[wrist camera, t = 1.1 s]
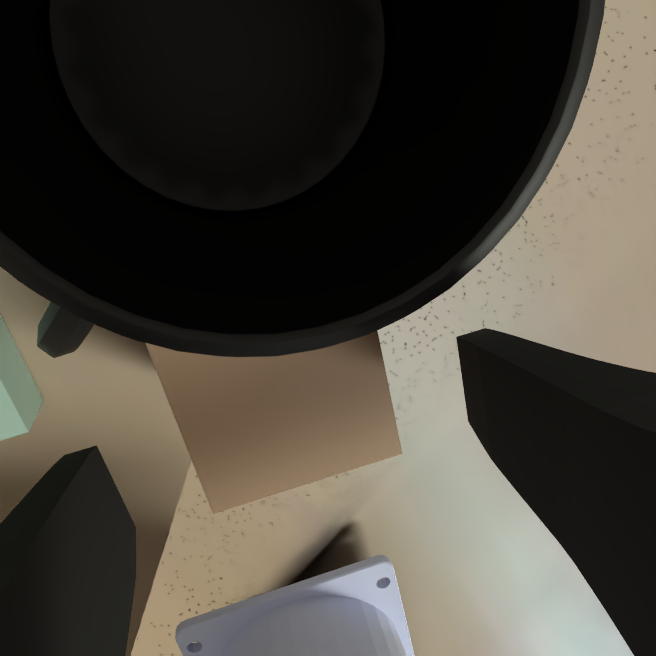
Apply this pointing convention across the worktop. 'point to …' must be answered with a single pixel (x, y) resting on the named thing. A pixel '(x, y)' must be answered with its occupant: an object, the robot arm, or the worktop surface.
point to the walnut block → (279, 416)
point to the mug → (272, 158)
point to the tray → (15, 389)
